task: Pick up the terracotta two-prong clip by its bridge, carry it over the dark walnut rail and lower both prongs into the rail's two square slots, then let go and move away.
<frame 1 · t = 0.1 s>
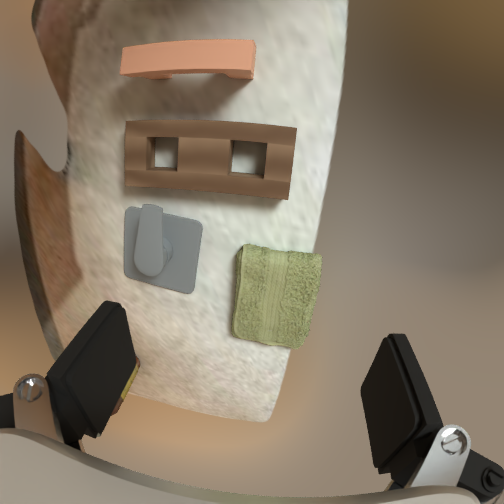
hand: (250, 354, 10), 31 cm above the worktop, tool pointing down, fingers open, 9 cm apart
prong clip: (200, 67, 32), on the worktop
slotted rail: (208, 153, 37), on the worktop
sauce bottle: (128, 358, 56), on the worktop
washcloth: (275, 295, 46), on the worktop
shower valve: (162, 241, 44), on the worktop
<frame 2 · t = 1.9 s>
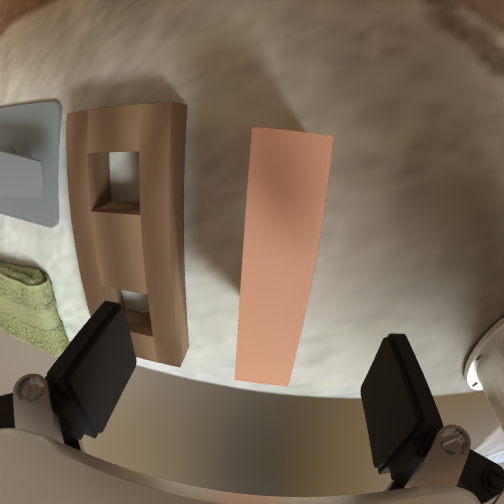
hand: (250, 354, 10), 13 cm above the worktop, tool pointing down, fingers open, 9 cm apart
prong clip: (280, 231, 22), on the worktop
slotted rail: (135, 239, 24), on the worktop
washcloth: (24, 299, 31), on the worktop
shower valve: (32, 162, 22), on the worktop
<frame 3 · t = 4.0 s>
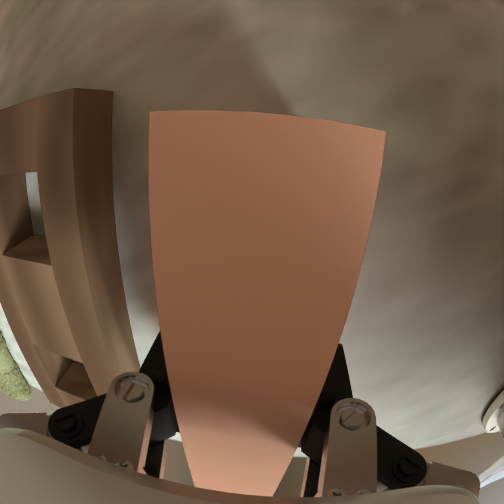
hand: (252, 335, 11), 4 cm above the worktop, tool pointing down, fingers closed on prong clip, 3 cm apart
prong clip: (260, 284, 14), on the worktop, touching gripper
slotted rail: (66, 285, 16), on the worktop
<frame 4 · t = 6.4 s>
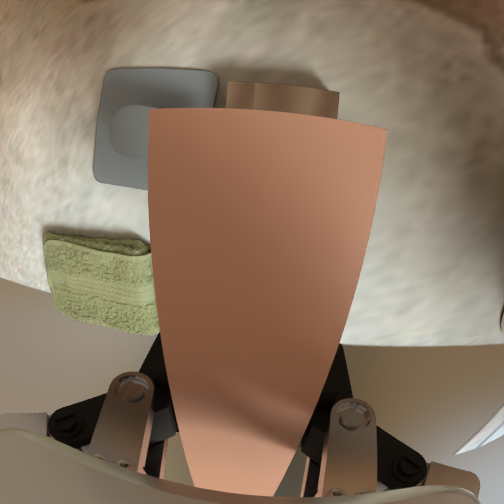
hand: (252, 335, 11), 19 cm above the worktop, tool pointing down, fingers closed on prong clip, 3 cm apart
prong clip: (260, 284, 14), point 15 cm above the worktop, touching gripper
slotted rail: (273, 204, 28), on the worktop
washcloth: (102, 278, 34), on the worktop
shower valve: (163, 129, 26), on the worktop
when the fingers open (5 cm above the worktop, at t = 9.2 s): prong clip drops 2 cm, on the worktop.
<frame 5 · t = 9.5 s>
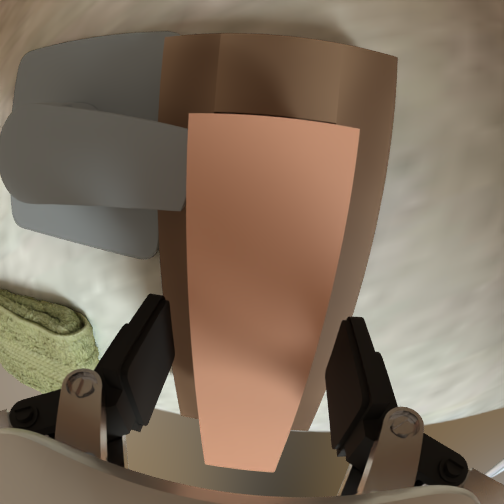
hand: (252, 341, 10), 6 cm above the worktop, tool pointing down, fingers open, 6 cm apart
prong clip: (263, 267, 16), on the worktop
slotted rail: (262, 267, 16), on the worktop
washcloth: (43, 341, 22), on the worktop
shower valve: (98, 140, 14), on the worktop
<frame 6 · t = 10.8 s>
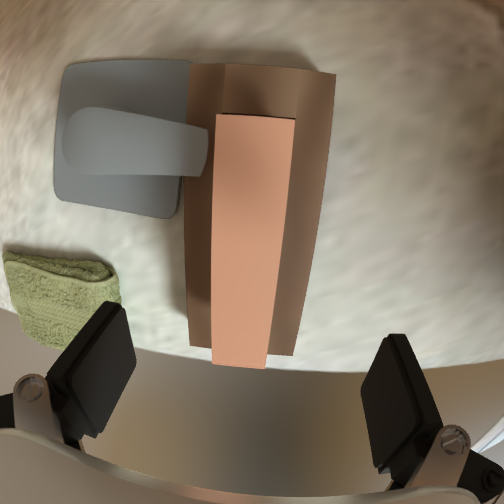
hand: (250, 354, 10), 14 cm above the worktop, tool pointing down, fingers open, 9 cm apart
prong clip: (253, 217, 22), on the worktop
slotted rail: (252, 218, 22), on the worktop
washcloth: (67, 301, 28), on the worktop
shower valve: (131, 135, 21), on the worktop
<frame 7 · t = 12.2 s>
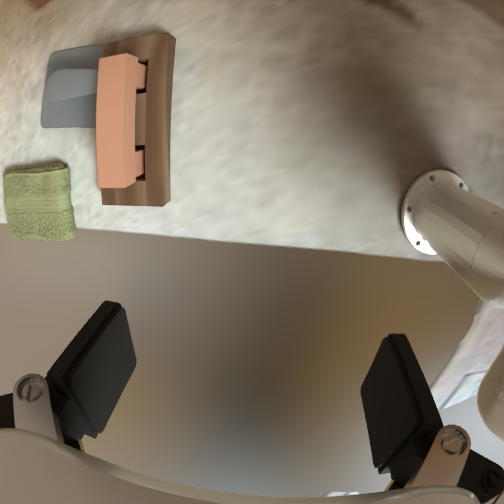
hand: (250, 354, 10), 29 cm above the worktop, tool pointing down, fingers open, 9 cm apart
prong clip: (139, 119, 33), on the worktop
slotted rail: (138, 119, 33), on the worktop
washcloth: (40, 201, 39), on the worktop
shower valve: (83, 86, 31), on the worktop
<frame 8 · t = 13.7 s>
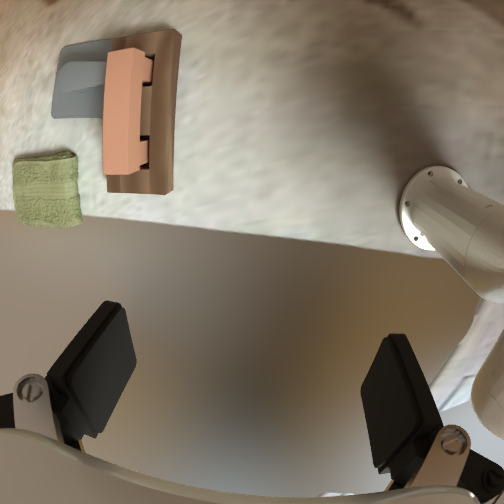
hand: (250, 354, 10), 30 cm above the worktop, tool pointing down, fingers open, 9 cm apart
prong clip: (145, 111, 34), on the worktop
slotted rail: (144, 111, 34), on the worktop
washcloth: (48, 189, 41), on the worktop
shower valve: (93, 78, 33), on the worktop
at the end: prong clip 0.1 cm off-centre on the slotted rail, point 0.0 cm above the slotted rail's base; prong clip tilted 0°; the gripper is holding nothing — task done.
